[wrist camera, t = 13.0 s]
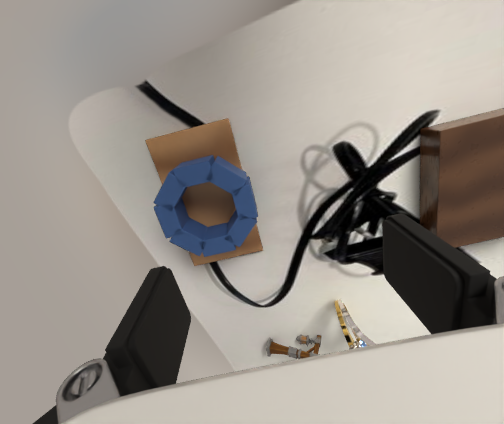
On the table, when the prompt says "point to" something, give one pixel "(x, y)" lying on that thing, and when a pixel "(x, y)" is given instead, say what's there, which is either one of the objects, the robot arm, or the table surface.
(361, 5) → the table surface
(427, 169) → the platform
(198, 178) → the ring
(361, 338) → the ring
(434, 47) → the table surface
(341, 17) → the table surface
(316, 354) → the wooden post with brackets
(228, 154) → the mat
